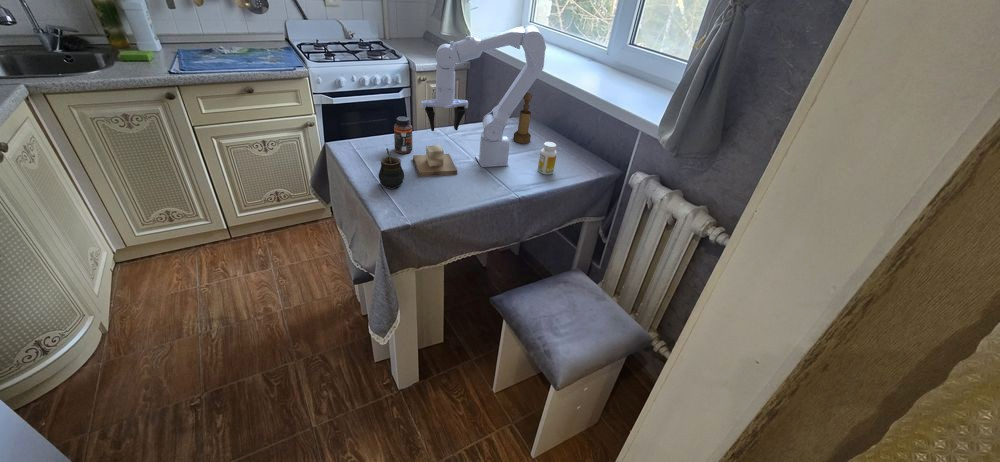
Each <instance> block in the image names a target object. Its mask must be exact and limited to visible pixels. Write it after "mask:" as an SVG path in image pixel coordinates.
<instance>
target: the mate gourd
mask: <svg viewBox="0 0 1000 462" xmlns="http://www.w3.org/2000/svg"><path fill="white" fill-rule="evenodd" d="M385 149H386V154H387V156H385V157H383V158H381V159H380V168H379V170H378V171H379V172H378V180H379V183H380V184H381V186H382V187H384V188H387V189H396V188H399V186H401V185H402V184H403V183H404V179H405V172H404V170H403V167H402V163H401V159H400V158H399V157H396V156H391V154H390V151H389V148H385Z"/></svg>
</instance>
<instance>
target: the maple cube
mask: <svg viewBox="0 0 1000 462" xmlns="http://www.w3.org/2000/svg"><path fill="white" fill-rule="evenodd" d="M425 148H426V149H425V153H426V154H425V155H426V160H427V162H428V164H429V166H441V165H443V161H444V154H445V153H444V148H442V146H441V145H440V144H435V145H434V144H433V145H426V146H425Z"/></svg>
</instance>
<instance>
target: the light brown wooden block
mask: <svg viewBox="0 0 1000 462" xmlns="http://www.w3.org/2000/svg"><path fill="white" fill-rule="evenodd" d="M412 159H413V162H414V165H415V168H416V171H417V174H418V176H419V177H436V176H451V175H452V176H453V175H458V168H457V167H456V165H455V162H454V161H453V159H452V157H451V155H450V153H444V161H443V165H441V166H429V164H428V162H427V160H426V154H414V155H412Z"/></svg>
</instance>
